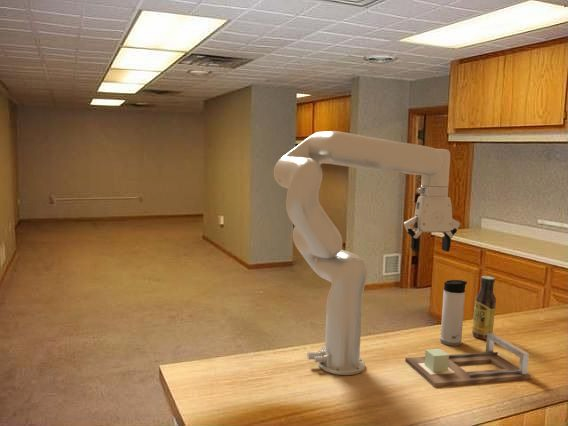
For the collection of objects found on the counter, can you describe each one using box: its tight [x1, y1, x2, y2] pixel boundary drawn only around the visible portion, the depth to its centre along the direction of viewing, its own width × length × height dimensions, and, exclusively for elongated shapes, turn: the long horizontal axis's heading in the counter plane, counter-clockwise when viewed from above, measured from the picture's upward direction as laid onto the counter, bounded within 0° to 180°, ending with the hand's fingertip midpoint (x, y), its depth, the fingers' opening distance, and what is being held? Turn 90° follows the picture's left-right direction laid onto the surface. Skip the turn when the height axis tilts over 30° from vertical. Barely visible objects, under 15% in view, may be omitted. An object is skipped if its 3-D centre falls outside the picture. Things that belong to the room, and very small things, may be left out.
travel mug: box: [439, 279, 468, 347], centre depth 158 cm, size 6×7×20 cm
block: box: [424, 348, 450, 372], centre depth 136 cm, size 4×4×4 cm
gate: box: [485, 332, 530, 375], centre depth 141 cm, size 2×16×6 cm, turn 13°
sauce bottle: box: [471, 275, 497, 340], centre depth 164 cm, size 7×6×20 cm
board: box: [404, 351, 532, 388], centre depth 139 cm, size 28×16×2 cm, turn 103°
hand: (430, 251), depth 148 cm, fingers open, 9 cm apart
